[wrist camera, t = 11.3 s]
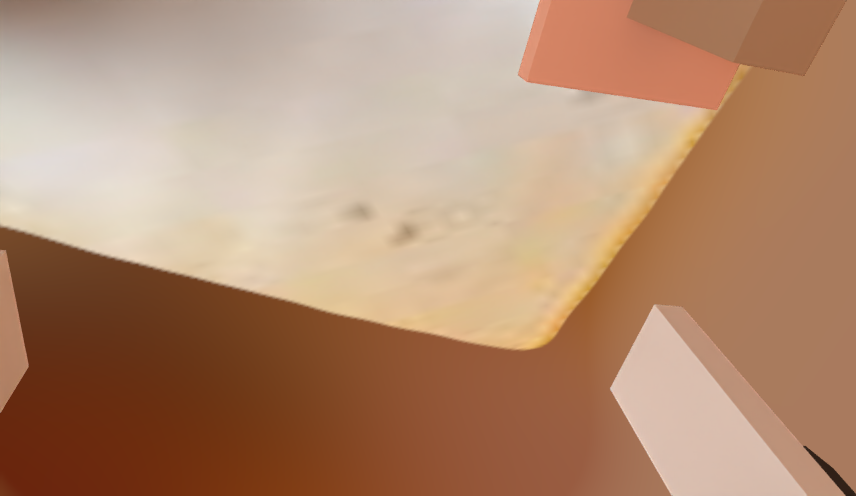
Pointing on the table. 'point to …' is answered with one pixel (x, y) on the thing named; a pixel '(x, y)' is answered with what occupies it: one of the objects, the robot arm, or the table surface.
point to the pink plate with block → (671, 44)
